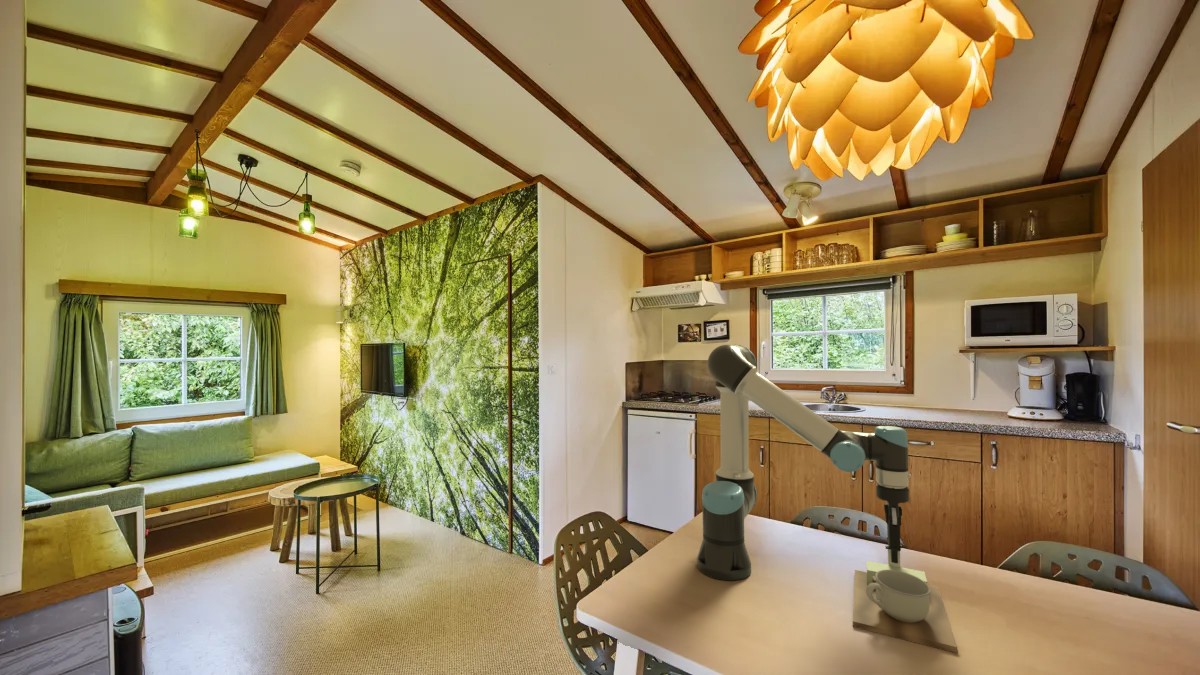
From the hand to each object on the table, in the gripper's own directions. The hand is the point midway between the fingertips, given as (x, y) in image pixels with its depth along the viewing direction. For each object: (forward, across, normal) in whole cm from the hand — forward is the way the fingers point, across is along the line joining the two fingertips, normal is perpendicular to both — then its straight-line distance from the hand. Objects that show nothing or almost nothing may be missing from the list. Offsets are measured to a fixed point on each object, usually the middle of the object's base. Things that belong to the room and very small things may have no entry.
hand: (894, 572), depth 124 cm
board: (+3, -13, 0) cm, 13 cm away
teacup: (+2, -20, +1) cm, 20 cm away
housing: (+2, -4, 0) cm, 4 cm away
